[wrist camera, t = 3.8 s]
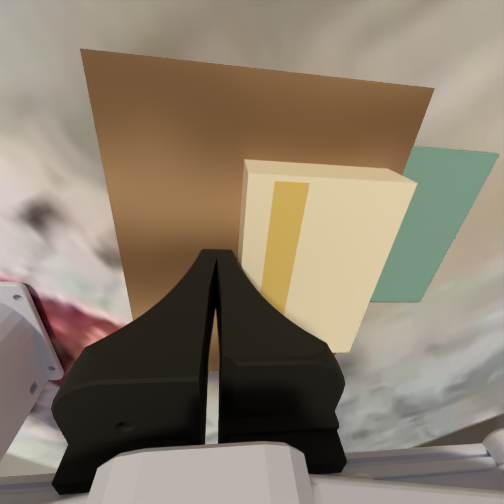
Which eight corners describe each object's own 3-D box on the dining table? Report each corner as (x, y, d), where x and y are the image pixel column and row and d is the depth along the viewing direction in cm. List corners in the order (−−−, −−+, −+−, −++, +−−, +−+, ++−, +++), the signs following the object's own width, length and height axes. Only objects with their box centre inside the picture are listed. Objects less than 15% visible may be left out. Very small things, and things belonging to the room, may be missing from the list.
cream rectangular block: (335, 323, 16) (349, 352, 14) (233, 324, 15) (234, 355, 13) (387, 168, 11) (417, 183, 9) (244, 159, 10) (248, 173, 9)
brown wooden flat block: (313, 322, 21) (330, 367, 18) (156, 324, 20) (143, 372, 16) (379, 88, 13) (434, 88, 10) (121, 60, 12) (80, 48, 8)
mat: (417, 299, 21) (420, 301, 21) (319, 298, 20) (321, 301, 20) (495, 152, 15) (499, 154, 15) (364, 142, 14) (366, 143, 14)
